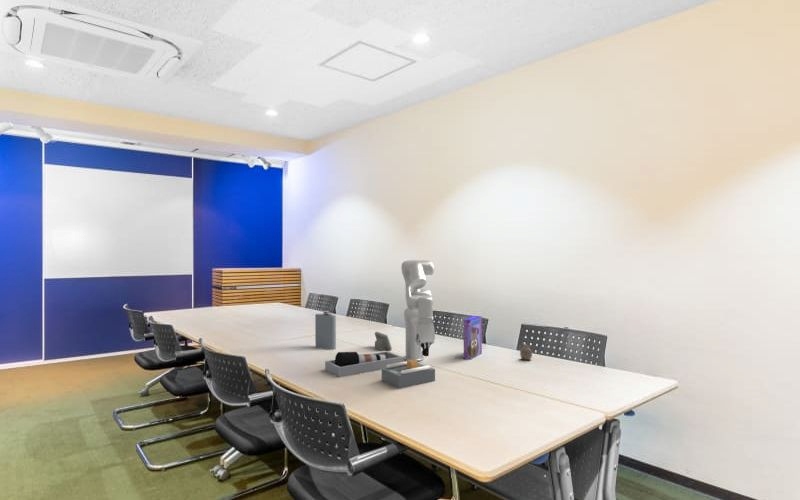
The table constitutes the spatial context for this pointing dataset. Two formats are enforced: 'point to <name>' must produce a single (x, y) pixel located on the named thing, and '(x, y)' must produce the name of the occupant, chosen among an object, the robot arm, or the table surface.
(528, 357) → the vase
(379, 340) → the grey rock
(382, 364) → the grey tray
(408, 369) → the cord
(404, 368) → the grey slider switch panel
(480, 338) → the cereal box
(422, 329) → the robot arm
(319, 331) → the flask
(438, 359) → the table surface
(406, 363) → the cord
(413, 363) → the block
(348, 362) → the cable
